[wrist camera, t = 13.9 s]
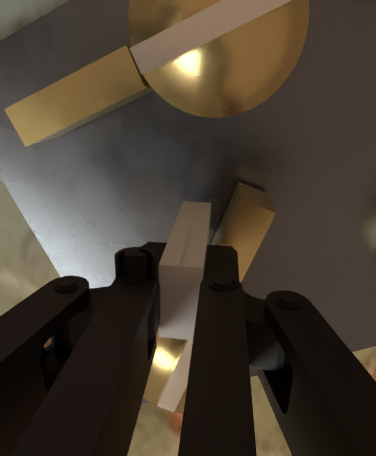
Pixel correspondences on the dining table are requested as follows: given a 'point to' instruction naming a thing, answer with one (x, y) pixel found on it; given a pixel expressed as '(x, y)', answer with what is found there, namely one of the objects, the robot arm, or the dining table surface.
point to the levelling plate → (209, 161)
